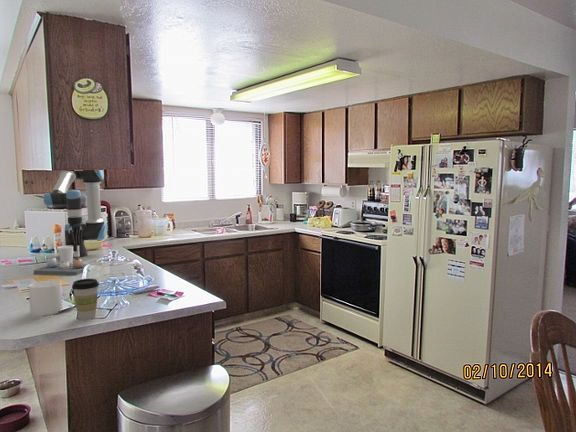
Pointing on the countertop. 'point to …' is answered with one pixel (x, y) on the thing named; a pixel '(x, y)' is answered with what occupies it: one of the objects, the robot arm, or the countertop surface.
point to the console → (60, 270)
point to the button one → (51, 262)
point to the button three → (77, 263)
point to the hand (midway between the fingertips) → (76, 256)
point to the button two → (64, 265)
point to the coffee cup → (86, 297)
